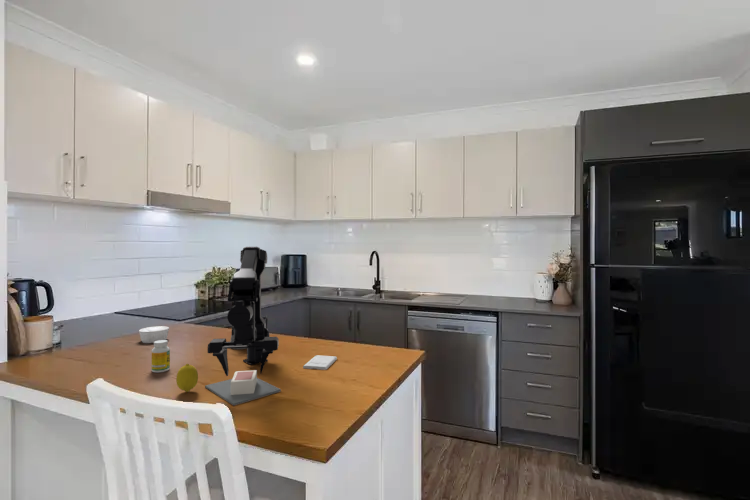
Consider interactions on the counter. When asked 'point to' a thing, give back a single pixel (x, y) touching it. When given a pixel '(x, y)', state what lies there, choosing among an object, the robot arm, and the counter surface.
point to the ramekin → (153, 334)
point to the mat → (225, 393)
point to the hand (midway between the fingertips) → (244, 374)
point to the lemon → (187, 377)
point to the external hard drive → (320, 362)
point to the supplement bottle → (160, 356)
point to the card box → (243, 382)
